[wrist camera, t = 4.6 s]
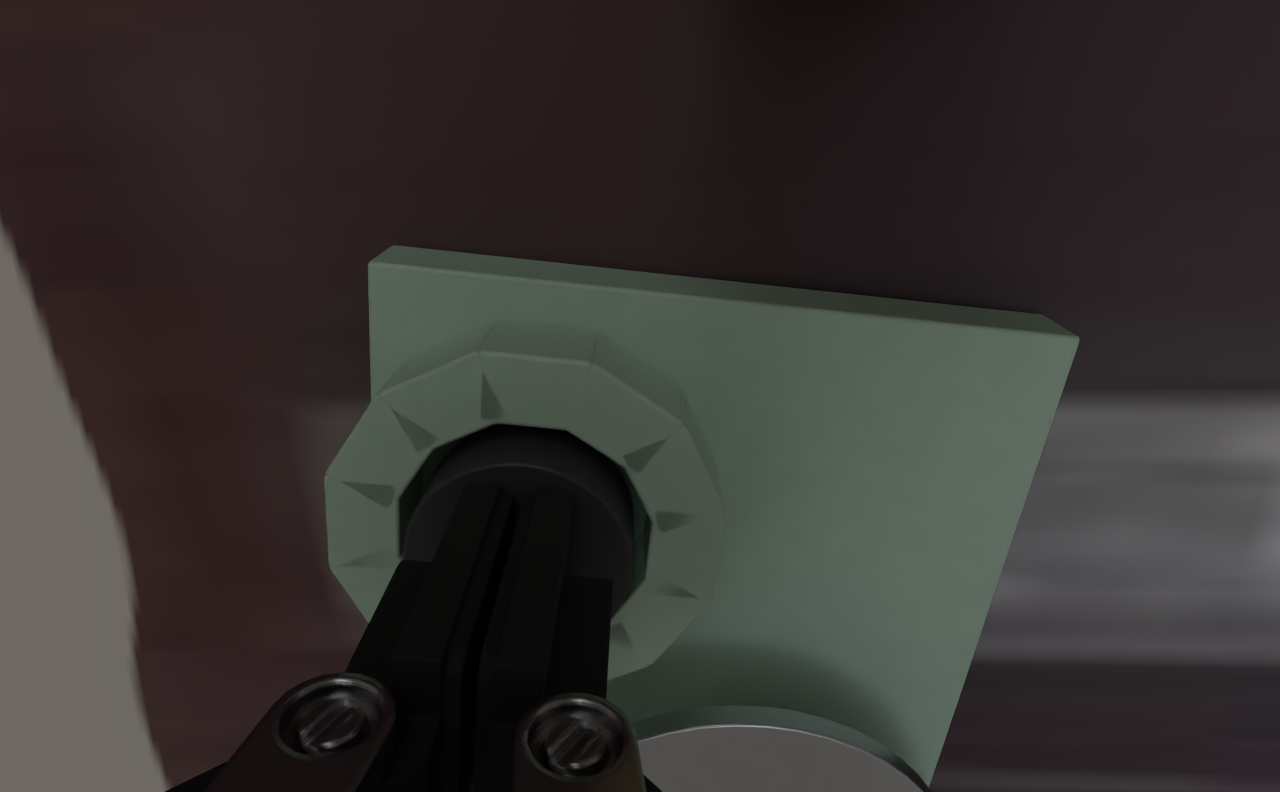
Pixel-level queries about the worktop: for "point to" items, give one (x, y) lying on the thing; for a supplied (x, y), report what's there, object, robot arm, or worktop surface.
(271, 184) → the worktop surface
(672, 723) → the platter
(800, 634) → the scale
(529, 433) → the power button
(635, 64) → the worktop surface
